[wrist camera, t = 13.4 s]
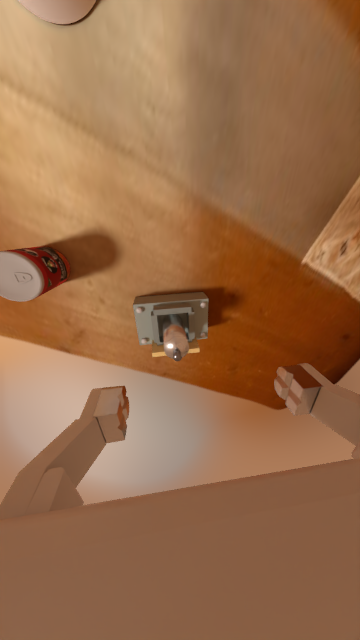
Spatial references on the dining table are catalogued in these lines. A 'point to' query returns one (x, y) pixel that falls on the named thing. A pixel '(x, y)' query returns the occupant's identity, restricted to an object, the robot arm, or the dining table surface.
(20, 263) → the canned food
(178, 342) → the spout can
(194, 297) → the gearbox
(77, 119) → the dining table surface
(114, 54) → the dining table surface
